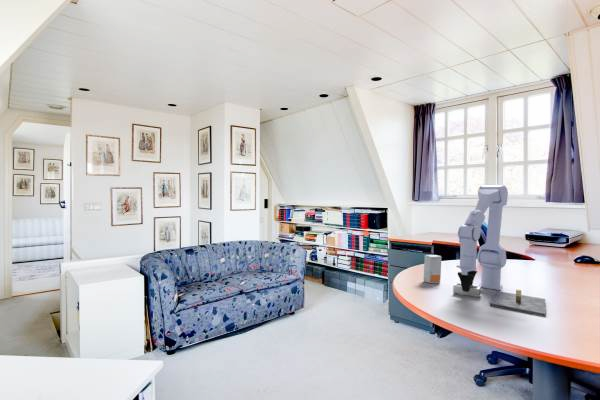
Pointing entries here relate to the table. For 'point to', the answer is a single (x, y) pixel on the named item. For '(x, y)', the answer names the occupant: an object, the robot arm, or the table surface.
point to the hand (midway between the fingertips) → (466, 289)
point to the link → (473, 290)
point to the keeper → (519, 303)
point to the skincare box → (432, 268)
